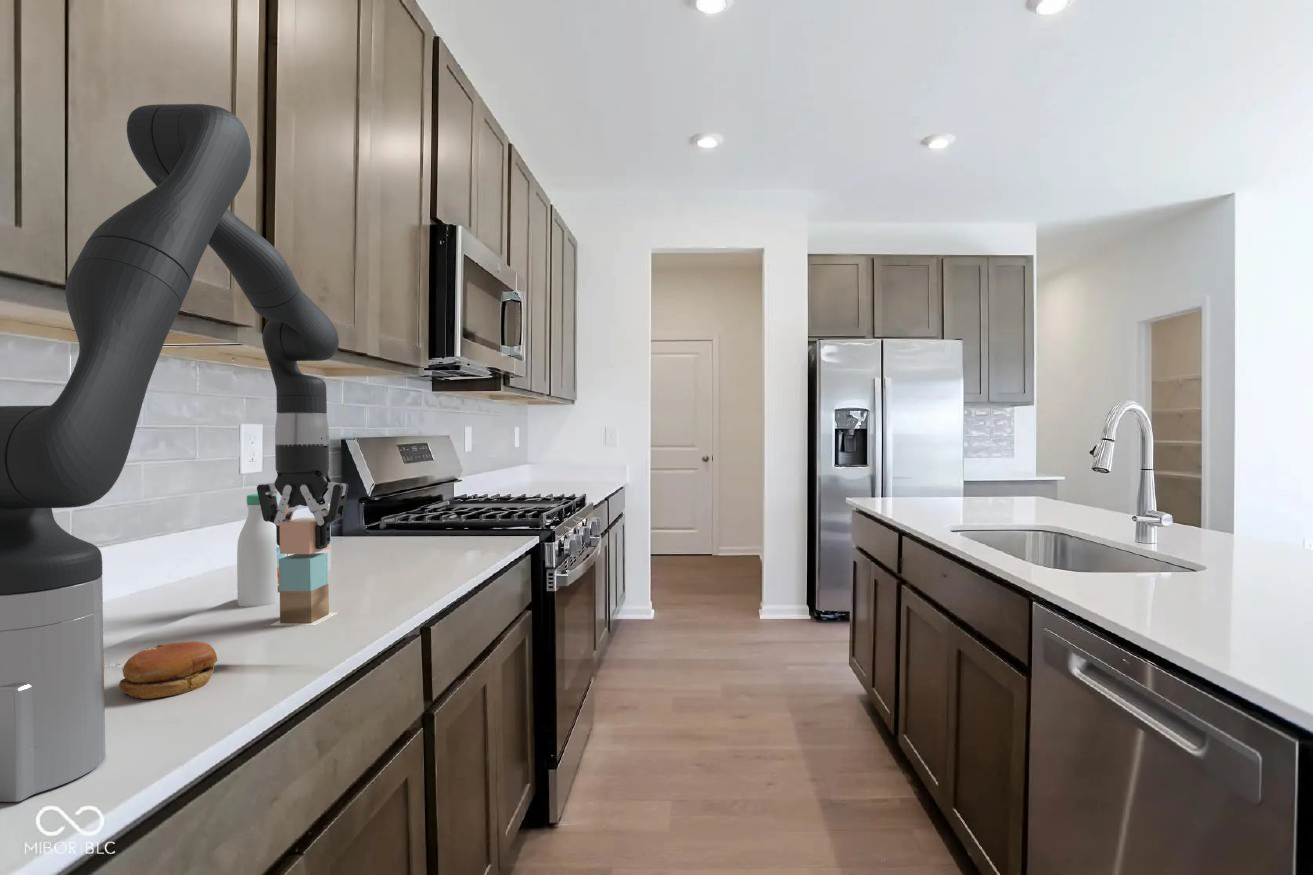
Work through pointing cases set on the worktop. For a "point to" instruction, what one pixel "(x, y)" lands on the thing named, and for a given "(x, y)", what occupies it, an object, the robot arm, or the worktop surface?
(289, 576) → the teal block
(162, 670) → the burger
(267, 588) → the milk bottle
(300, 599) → the walnut block
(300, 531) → the terracotta block
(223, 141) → the robot arm
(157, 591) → the worktop surface
